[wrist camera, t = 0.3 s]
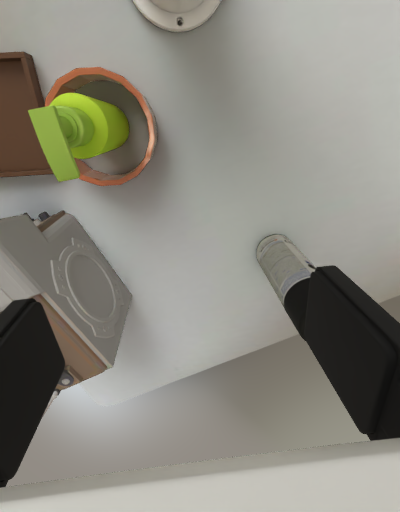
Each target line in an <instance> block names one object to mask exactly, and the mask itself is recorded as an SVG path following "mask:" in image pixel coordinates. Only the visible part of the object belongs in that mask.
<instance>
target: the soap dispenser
mask: <svg viewBox="0 0 400 512" xmlns="http://www.w3.org/2000/svg"><path fill="white" fill-rule="evenodd" d="M28 112H29V115H30V118H31V121H32V123H33V126H34V129H35V131H36V134H37V137H38V139H39V142H40V145H41V147H42V149H43V152H44V154H45V156H46V159H47V161H48V163H49V165H50V167H51V169H52V171H53V173H54V175H55V177H56V178H57V180H58V181H59V182H61V181H66V180H71V179H76V178H80V171H79V169H78V167H77V164H76V162H75V160H74V158H78V159H87V158H91V157H94V156H97V155H100V154H102V153H105V152H108V151H110V150H113V149H116V148H118V147H120V146H122V145H123V144H124V143H125V142H126V140H127V138H128V135H129V124H128V120H127V118H126V116H125V114H124V113H123V112H122V111H121V110H120V109H119V108H118V107H116V106H115V105H112V104H110V103H106V102H103V101H100V100H97V99H94V98H91V97H88V96H85V95H82V94H78V93H65V94H62V95H59V96H58V97H56V98H55V99H54V100H53V101H52V102H51V103H50V105H49V106H46V107H41V108H36V109H31V110H28Z"/></svg>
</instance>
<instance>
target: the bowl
mask: <svg viewBox="0 0 400 512" xmlns="http://www.w3.org/2000/svg"><path fill="white" fill-rule="evenodd" d="M91 81H112V82H114V83H117V84H119V85H122V86H124V87H126V88H127V89H128V90H129V91H130V92H131V93H132V94H133V95H134V96H135V97H136V98H137V99H138V101H139V103H140V105H141V107H142V109H143V111H144V113H145V115H146V117H147V122H148V131H149V143H148V147H147V151H146V155H145V158H144V159H143V160H142V162H141V163H140V164H139V166H138V167H137V168H135V169H133V170H131V171H129V172H127V173H126V174H115V175H108V174H105V173H102V172H99V171H96V170H93V169H91V168H90V167H89V166H88V165H86V164H85V163H84V162H83V161H81V160H80V159H78V158H74V160H75V162H76V164H77V167H78V169H79V171H80V178H79V179H81V180H84V181H87V182H90V183H93V184H96V185H99V186H109V185H121V184H123V183H125V182H127V181H129V180H131V179H132V178H134V177H136V176H138V175H139V173H140V172H141V171H142V170H143V168H144V167H145V166H146V165H147V163H148V162H149V161H150V159H151V158H152V157H153V154H154V150H155V146H156V142H157V139H158V137H157V128H156V119H155V116H154V114H153V112H152V110H151V108H150V106H149V104H148V102H147V100H146V98H145V97H144V96H143V95H142V94H141V93H140V92H139V91H138V90H137V89H136V88H135V87H134V86H133V85H132V84H131V83H130V82H129V81H127V80H126V79H125V78H124V77H123V76H121V75H118V74H116V73H113V72H111V71H108V70H106V69H103V68H101V67H89V68H76V69H74V70H72V71H71V72H69V73H67V74H66V75H64V76H62V77H61V78H59V79H57V81H56V82H55V84H54V86H53V87H52V89H51V91H50V92H49V94H48V96H47V97H46V99H45V106H44V107H46V106H49V105H50V103H51V102H52V101H53V100H54V99H55V98H56V97H58V96H59V95H62V94H65V93H74V92H75V91H76V90H77V89H79V88H81V87H82V86H84V85H86V84H88V83H89V82H91Z"/></svg>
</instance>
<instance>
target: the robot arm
mask: <svg viewBox="0 0 400 512" xmlns="http://www.w3.org/2000/svg"><path fill="white" fill-rule="evenodd" d="M132 1H133V2H134V4H135V5H136V7H137V9H138V10H139V11H140V12H141V13H142V14H143V15H144V17H145V18H146V19H148V20H149V21H150V22H152V23H153V24H154V25H156V26H158V27H160V28H162V29H164V30H168V31H172V32H184V31H189V30H193V29H195V28H197V27H199V26H201V25H202V24H203V23H204V22H206V21H207V20H208V19H209V18H210V17H211V16H212V15H213V13H214V12H215V11H216V9H217V8H218V6H219V4H220V2H221V1H222V0H132ZM179 21H180V22H181V23H182V25H181V26H179V25H178V22H179ZM304 335H305V339H306V342H307V343H308V345H309V346H310V348H311V350H312V352H313V353H314V355H315V357H316V359H317V360H318V362H319V364H320V365H321V367H322V369H323V370H324V372H325V374H326V375H327V377H328V379H329V380H330V382H331V384H332V386H333V387H334V389H335V391H336V392H337V394H338V396H339V397H340V399H341V401H342V403H343V404H344V406H345V408H346V409H347V411H348V413H349V414H350V416H351V418H352V419H353V421H354V423H355V424H356V426H357V428H358V429H359V431H360V432H361V433H363V434H367V435H368V437H369V439H370V441H365V442H355V443H346V444H337V445H328V446H320V447H312V448H303V449H295V450H287V451H279V452H272V453H263V454H255V455H246V456H239V457H231V458H222V459H215V460H207V461H199V462H191V463H184V464H175V465H168V466H160V467H152V468H145V469H137V470H129V471H121V472H114V473H106V474H98V475H91V476H84V477H76V478H69V479H61V480H54V481H46V482H39V483H31V484H24V485H16V486H9V487H5V486H6V484H7V482H8V480H9V479H11V478H13V477H14V475H15V474H16V472H17V470H18V468H19V466H20V464H21V461H22V459H23V457H24V455H25V453H26V451H27V449H28V446H29V444H30V442H31V440H32V438H33V436H34V433H35V431H36V429H37V427H38V425H39V423H40V421H41V418H42V416H43V414H44V412H45V410H46V408H47V406H48V403H49V401H50V399H51V397H52V395H53V393H54V390H55V388H56V386H57V384H58V382H59V380H60V378H61V375H62V373H63V371H64V368H65V359H64V357H63V354H62V352H61V349H60V347H59V344H58V342H57V340H56V337H55V335H54V332H53V330H52V327H51V325H50V323H49V320H48V318H47V315H46V313H45V310H44V308H43V306H42V304H41V303H40V302H37V301H36V300H35V299H33V298H30V299H21V300H14V301H12V302H11V303H10V304H9V305H8V306H7V307H6V308H5V309H4V311H3V312H2V313H1V314H0V512H400V323H399V322H397V321H396V320H395V319H394V318H393V317H392V316H391V315H389V313H387V312H386V311H385V310H384V309H383V308H382V307H381V306H380V305H379V304H377V303H376V302H375V301H374V300H373V299H372V298H371V297H370V296H369V295H367V294H366V293H365V292H364V291H363V290H362V289H361V288H360V287H358V286H357V285H356V284H355V283H354V282H353V281H352V280H351V279H350V278H348V277H347V276H346V275H345V274H344V273H343V272H342V271H341V270H340V269H338V268H337V267H336V266H323V267H317V268H316V269H315V272H312V273H311V275H310V282H309V292H308V301H307V310H306V319H305V328H304Z"/></svg>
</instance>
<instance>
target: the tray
mask: <svg viewBox="0 0 400 512" xmlns="http://www.w3.org/2000/svg"><path fill="white" fill-rule="evenodd" d="M44 106H45V104H44V100H43V97H42V93H41V89H40V85H39V81H38V78H37V74H36V70H35V66H34V63H33V59H32V55H29V54H27V53H25V52H6V53H0V177H14V176H29V175H44V174H54V173H53V171H52V169H51V167H50V165H49V163H48V161H47V159H46V156H45V154H44V152H43V149H42V147H41V145H40V142H39V139H38V137H37V134H36V131H35V129H34V126H33V123H32V121H31V118H30V115H29V112H28V110H31V109H36V108H41V107H44Z"/></svg>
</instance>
